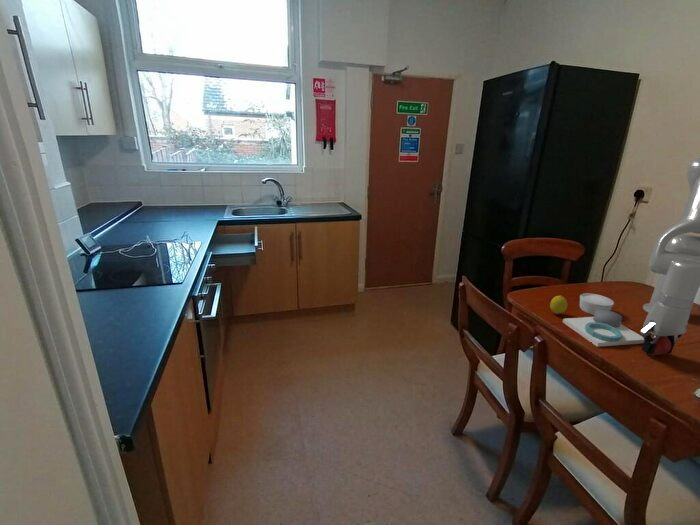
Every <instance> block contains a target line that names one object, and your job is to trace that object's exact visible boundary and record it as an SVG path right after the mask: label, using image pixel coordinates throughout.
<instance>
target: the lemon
mask: <svg viewBox="0 0 700 525" xmlns="http://www.w3.org/2000/svg"><path fill="white" fill-rule="evenodd" d="M549 308H550V310H551V311H552V312H553V313H554V314H555V315H559V314H563V313H564V312H566V310H567V308H568V301H567V298H565V297H564V296H562V295H556V296H554V297H553V298H552V299H551V301H550V304H549Z"/></svg>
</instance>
